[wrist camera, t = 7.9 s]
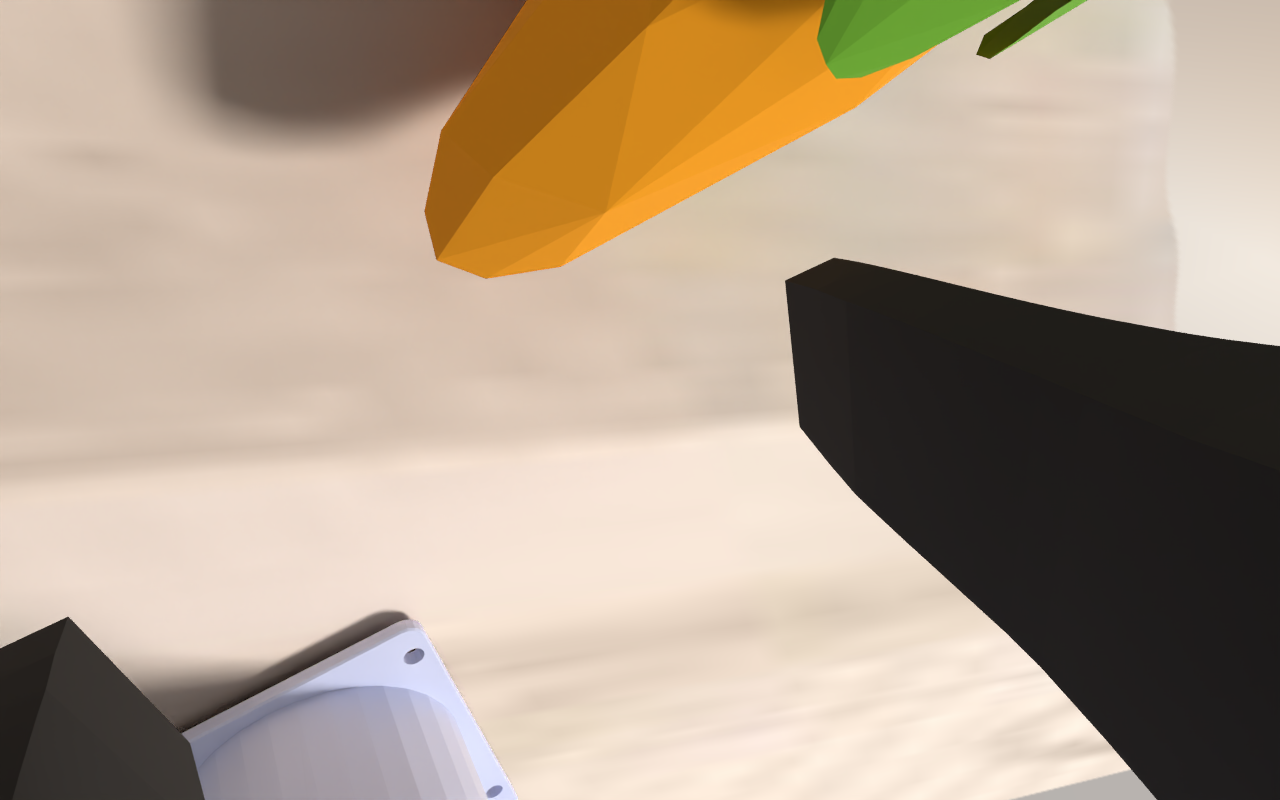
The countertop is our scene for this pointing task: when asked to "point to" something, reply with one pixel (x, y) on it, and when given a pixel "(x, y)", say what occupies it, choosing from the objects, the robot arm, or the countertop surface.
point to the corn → (660, 109)
